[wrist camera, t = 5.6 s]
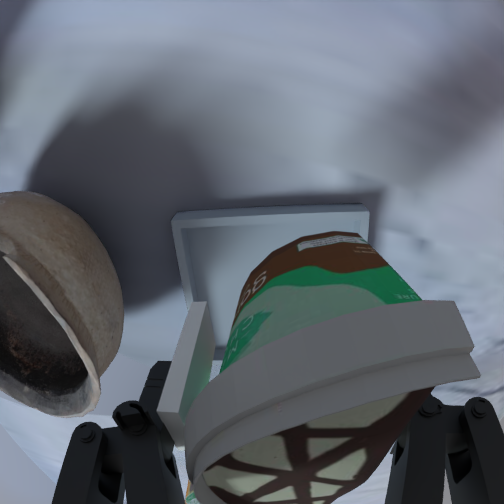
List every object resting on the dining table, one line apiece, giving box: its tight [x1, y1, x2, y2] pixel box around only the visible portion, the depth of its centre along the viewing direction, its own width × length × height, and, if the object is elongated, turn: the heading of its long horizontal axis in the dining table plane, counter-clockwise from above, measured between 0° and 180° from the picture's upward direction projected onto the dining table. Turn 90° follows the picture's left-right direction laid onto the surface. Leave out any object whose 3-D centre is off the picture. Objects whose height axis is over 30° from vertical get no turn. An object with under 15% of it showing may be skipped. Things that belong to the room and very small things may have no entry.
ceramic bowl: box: [0, 191, 124, 418], centre depth 26 cm, size 22×22×15 cm
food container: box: [184, 231, 481, 504], centre depth 12 cm, size 12×6×10 cm, turn 172°
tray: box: [171, 203, 370, 365], centre depth 32 cm, size 18×18×2 cm
